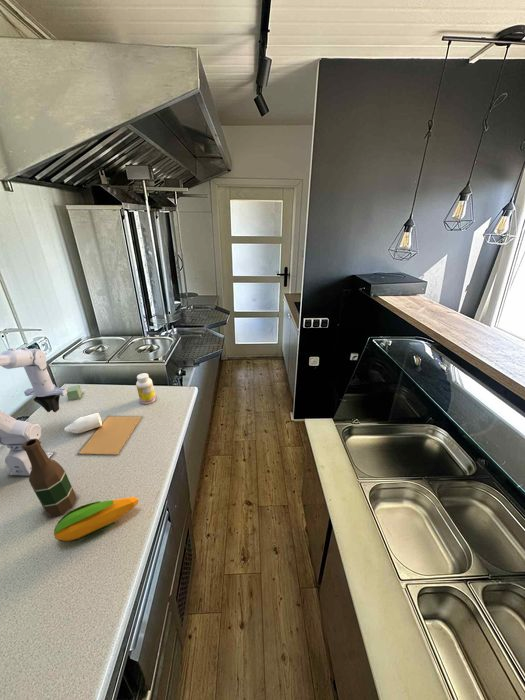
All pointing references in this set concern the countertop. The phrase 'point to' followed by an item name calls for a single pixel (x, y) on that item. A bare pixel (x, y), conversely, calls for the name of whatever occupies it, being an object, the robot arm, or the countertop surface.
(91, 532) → the corn
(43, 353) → the robot arm
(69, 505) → the beer bottle
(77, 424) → the white radish
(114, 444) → the mat
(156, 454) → the countertop surface
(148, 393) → the supplement bottle
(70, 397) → the block
